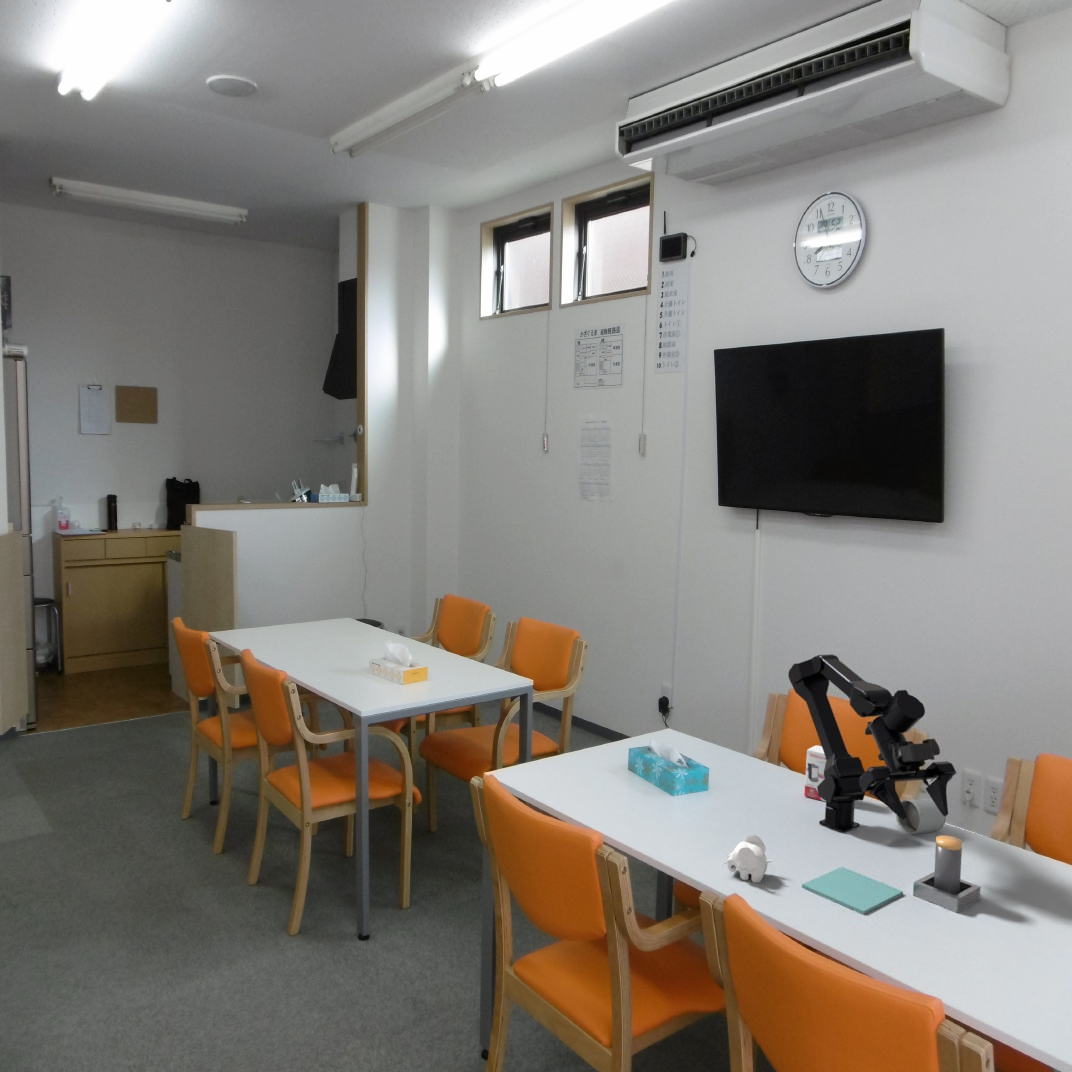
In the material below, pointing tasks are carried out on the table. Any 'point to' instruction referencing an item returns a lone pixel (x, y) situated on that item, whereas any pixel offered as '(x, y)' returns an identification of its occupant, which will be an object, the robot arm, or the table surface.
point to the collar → (946, 894)
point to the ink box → (814, 771)
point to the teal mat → (852, 890)
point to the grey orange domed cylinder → (948, 864)
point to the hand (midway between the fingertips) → (925, 817)
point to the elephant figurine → (749, 859)
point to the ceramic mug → (921, 816)
